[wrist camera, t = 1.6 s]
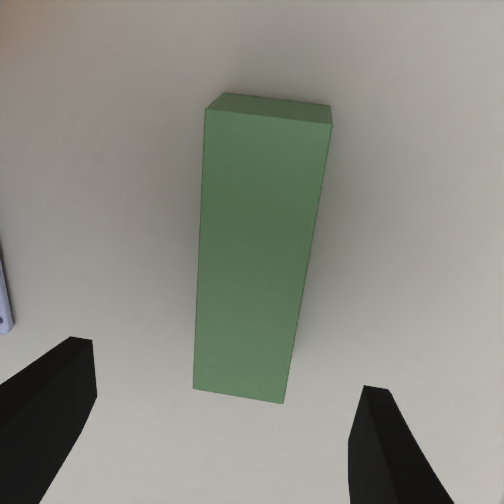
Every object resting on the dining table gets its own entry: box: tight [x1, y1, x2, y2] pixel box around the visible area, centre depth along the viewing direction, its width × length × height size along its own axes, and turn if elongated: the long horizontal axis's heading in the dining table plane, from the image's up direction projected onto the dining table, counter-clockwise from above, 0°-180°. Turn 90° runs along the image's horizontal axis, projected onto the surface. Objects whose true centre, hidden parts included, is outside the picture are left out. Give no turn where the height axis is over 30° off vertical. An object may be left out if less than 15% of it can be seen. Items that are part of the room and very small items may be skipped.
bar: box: [193, 93, 332, 404], centre depth 18 cm, size 12×4×3 cm, turn 175°
